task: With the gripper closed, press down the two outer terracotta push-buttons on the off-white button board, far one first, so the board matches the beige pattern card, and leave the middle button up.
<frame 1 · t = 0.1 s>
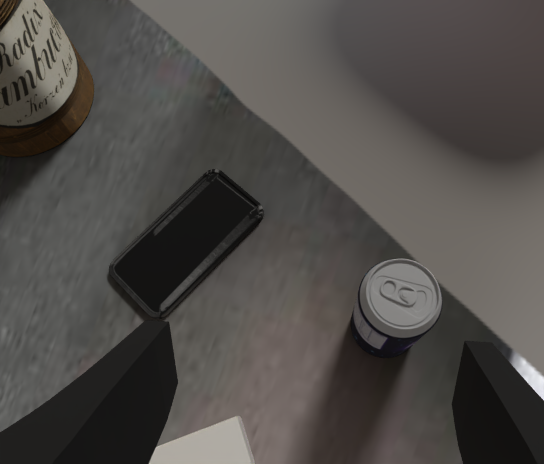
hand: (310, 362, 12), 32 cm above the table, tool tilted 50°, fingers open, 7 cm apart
beverage can: (382, 326, 44), on the table
wooden container: (34, 103, 57), on the table
phone: (189, 243, 49), on the table
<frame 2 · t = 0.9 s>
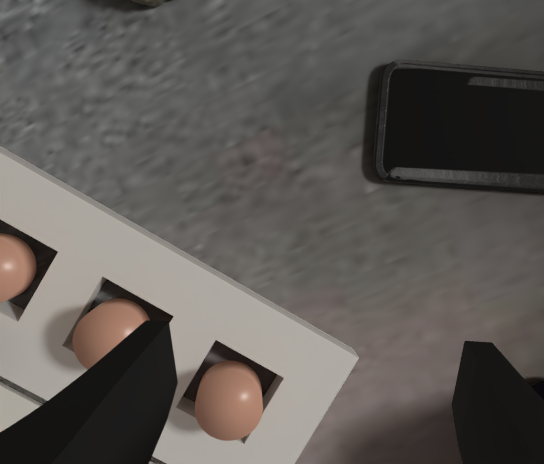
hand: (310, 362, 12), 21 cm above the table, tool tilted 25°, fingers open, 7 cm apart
button board: (125, 322, 32), on the table
beverage can: (543, 411, 35), on the table
button b: (113, 335, 29), point 3 cm above the table, slide at 0.0 cm
button a: (229, 399, 30), point 3 cm above the table, slide at 0.0 cm
phone: (483, 130, 33), on the table
pattern card: (44, 462, 33), on the table
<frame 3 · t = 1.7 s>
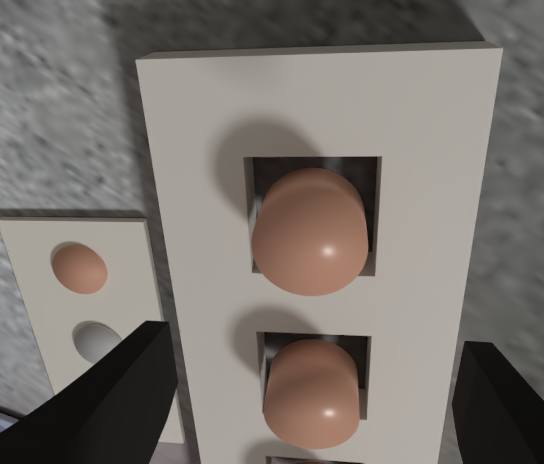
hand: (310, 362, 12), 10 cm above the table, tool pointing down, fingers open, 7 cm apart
button board: (315, 348, 24), on the table
button c: (310, 231, 18), point 3 cm above the table, slide at 0.0 cm
button b: (312, 393, 22), point 3 cm above the table, slide at 0.0 cm
pattern card: (103, 338, 26), on the table
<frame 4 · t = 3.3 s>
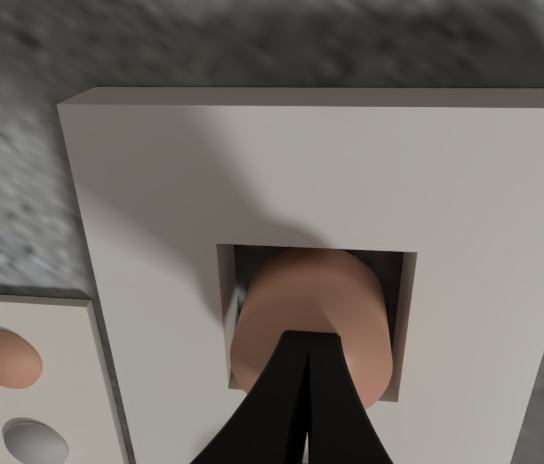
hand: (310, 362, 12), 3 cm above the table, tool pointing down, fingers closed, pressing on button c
button board: (312, 461, 19), on the table
button c: (312, 332, 13), point 2 cm above the table, slide at 0.8 cm, touching gripper
pattern card: (43, 435, 20), on the table
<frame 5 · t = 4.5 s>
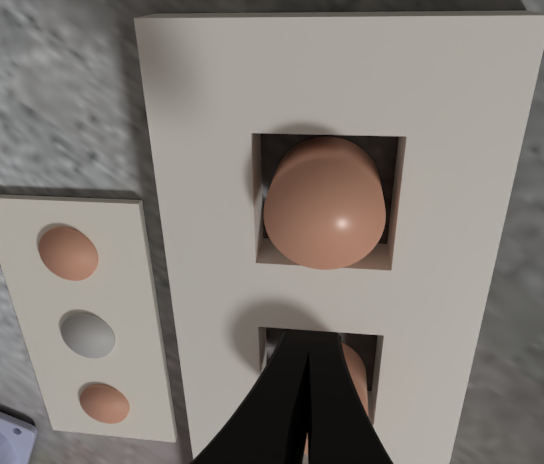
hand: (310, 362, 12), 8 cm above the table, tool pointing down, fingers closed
button board: (320, 346, 23), on the table
button c: (324, 202, 17), point 2 cm above the table, slide at 1.2 cm
button b: (317, 395, 20), point 3 cm above the table, slide at 0.0 cm
pattern card: (92, 329, 24), on the table
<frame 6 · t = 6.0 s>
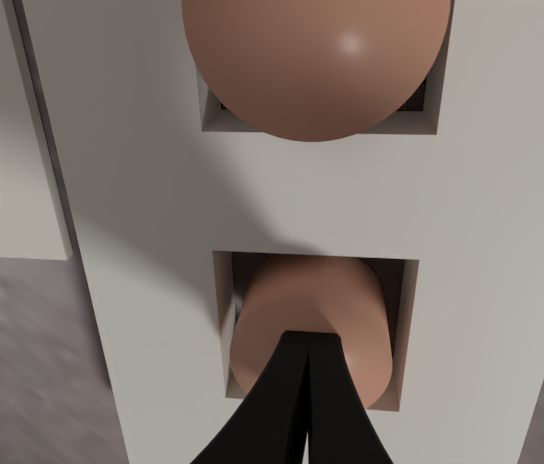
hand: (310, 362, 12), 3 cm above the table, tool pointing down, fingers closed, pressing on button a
button b: (315, 7, 8), point 3 cm above the table, slide at 0.0 cm
button a: (312, 331, 13), point 2 cm above the table, slide at 1.2 cm, touching gripper
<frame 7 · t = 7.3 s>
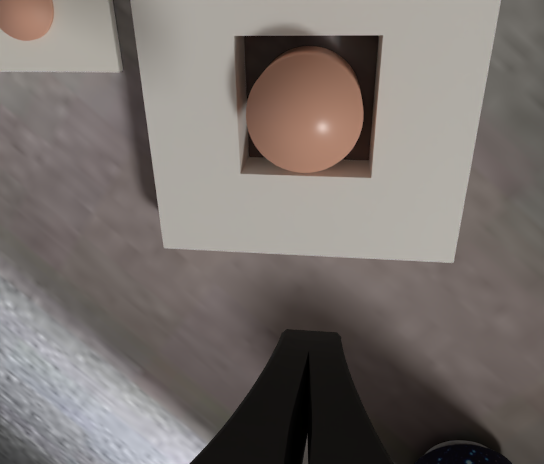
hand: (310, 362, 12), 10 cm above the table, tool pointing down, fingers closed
beverage can: (458, 462, 28), on the table
button a: (306, 108, 18), point 2 cm above the table, slide at 1.3 cm
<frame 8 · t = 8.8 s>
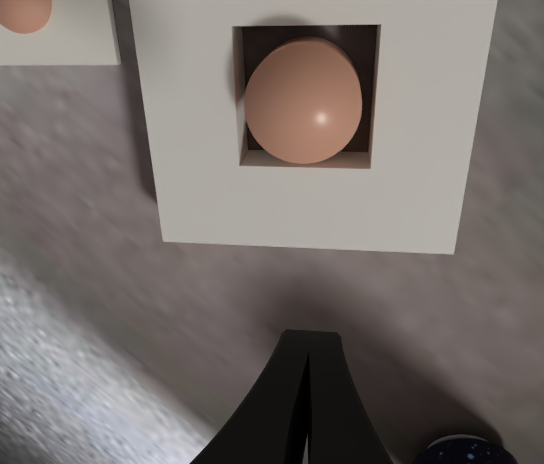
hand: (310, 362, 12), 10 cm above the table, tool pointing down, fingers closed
beverage can: (459, 457, 28), on the table
button a: (304, 99, 18), point 2 cm above the table, slide at 1.3 cm
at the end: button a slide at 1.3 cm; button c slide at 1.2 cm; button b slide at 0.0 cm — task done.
